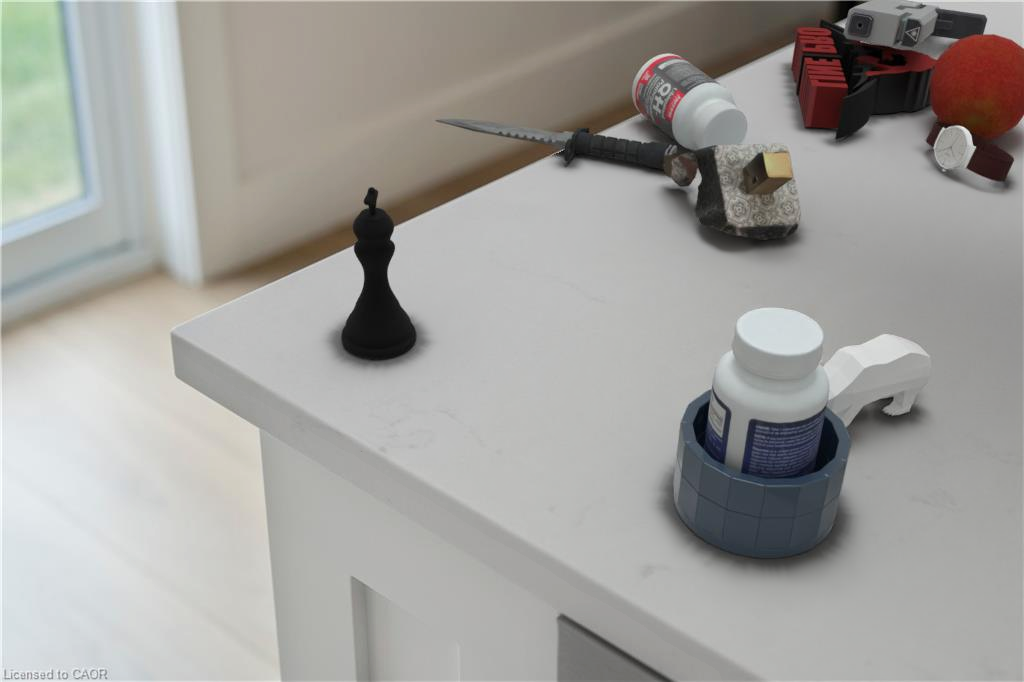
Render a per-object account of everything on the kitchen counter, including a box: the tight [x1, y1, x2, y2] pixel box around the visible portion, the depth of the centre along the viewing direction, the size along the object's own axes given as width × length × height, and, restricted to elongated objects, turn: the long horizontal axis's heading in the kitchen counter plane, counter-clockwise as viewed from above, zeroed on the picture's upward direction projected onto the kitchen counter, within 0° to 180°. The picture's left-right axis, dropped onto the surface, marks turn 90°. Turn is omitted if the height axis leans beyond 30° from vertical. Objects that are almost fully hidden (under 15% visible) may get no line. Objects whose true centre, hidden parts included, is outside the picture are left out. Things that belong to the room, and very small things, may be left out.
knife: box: [435, 118, 678, 170], centre depth 95 cm, size 19×2×5 cm
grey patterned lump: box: [663, 142, 802, 241], centre depth 86 cm, size 8×7×12 cm
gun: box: [843, 0, 988, 50], centre depth 109 cm, size 2×25×10 cm
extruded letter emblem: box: [790, 18, 938, 141], centre depth 104 cm, size 18×4×11 cm
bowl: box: [672, 388, 852, 559], centre depth 61 cm, size 8×8×4 cm
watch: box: [925, 120, 1015, 182], centre depth 94 cm, size 8×5×4 cm
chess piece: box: [340, 186, 417, 360], centre depth 71 cm, size 4×4×10 cm
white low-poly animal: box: [822, 333, 932, 428], centre depth 67 cm, size 2×8×5 cm, turn 119°
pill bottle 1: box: [631, 53, 748, 151], centre depth 96 cm, size 5×5×10 cm
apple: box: [930, 33, 1024, 140], centre depth 98 cm, size 8×8×8 cm
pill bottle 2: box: [704, 307, 830, 479], centre depth 60 cm, size 5×5×10 cm
